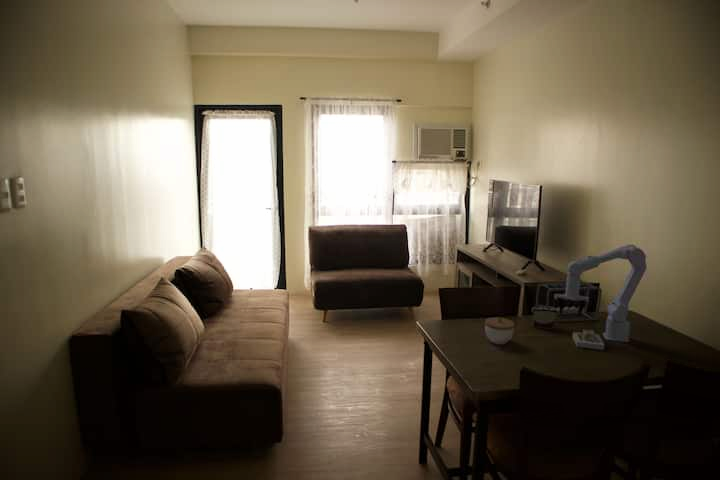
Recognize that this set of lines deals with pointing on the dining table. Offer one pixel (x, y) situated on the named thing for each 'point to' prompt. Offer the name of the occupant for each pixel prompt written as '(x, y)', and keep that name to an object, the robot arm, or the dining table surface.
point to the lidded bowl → (499, 330)
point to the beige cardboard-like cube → (588, 336)
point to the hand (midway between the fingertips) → (569, 314)
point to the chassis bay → (596, 344)
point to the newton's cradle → (573, 309)
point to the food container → (544, 316)
